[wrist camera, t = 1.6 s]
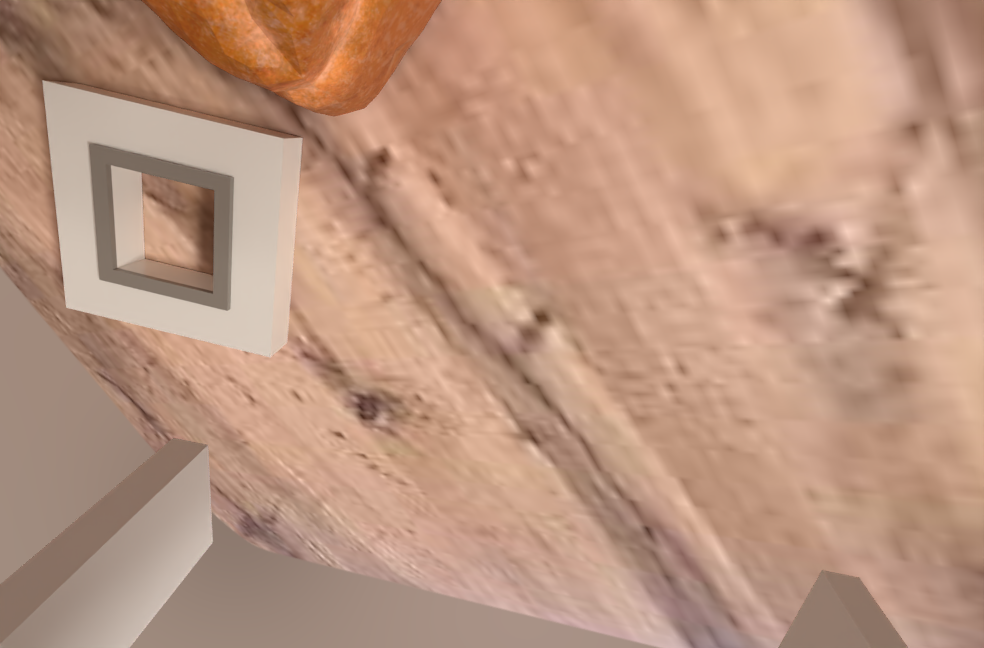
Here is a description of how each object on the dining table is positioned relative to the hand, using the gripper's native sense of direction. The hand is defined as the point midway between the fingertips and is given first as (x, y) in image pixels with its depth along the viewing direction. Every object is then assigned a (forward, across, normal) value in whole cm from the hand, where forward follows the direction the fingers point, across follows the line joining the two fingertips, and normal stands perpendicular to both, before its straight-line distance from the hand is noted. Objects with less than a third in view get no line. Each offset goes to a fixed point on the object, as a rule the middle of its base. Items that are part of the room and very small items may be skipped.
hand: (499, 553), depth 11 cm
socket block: (+25, -24, -2) cm, 35 cm away
